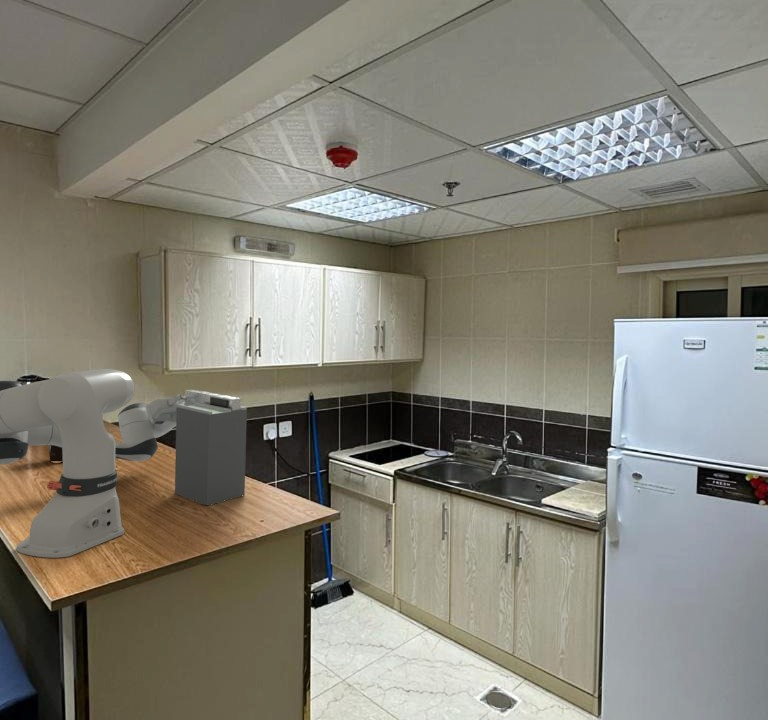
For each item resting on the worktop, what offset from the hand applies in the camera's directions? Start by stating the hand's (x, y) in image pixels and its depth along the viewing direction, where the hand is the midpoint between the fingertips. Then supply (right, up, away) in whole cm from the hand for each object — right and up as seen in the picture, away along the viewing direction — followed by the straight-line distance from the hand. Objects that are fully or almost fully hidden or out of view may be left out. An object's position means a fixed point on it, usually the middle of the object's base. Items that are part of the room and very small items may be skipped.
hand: (194, 395), depth 166 cm
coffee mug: (-55, -25, +21) cm, 64 cm away
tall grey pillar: (+8, -29, -10) cm, 32 cm away
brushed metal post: (+7, -3, -6) cm, 10 cm away
